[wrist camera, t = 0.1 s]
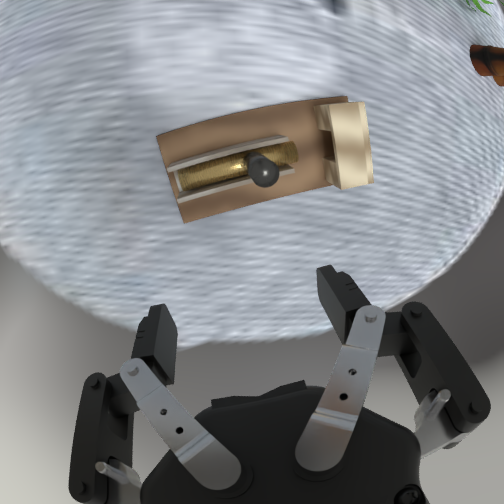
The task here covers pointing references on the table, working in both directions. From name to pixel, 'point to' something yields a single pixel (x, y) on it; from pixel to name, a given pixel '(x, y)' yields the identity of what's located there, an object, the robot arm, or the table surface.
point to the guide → (268, 133)
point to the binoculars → (488, 61)
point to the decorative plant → (480, 6)
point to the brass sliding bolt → (241, 166)
